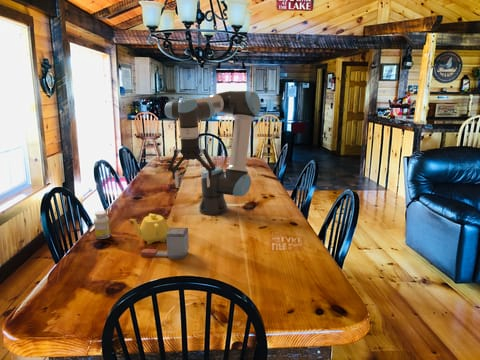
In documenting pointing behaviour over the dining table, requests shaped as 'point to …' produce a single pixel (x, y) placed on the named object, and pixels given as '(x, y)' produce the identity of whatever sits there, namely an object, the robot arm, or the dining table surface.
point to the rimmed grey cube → (177, 241)
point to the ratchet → (159, 254)
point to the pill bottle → (102, 225)
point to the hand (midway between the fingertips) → (192, 186)
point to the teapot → (152, 228)
